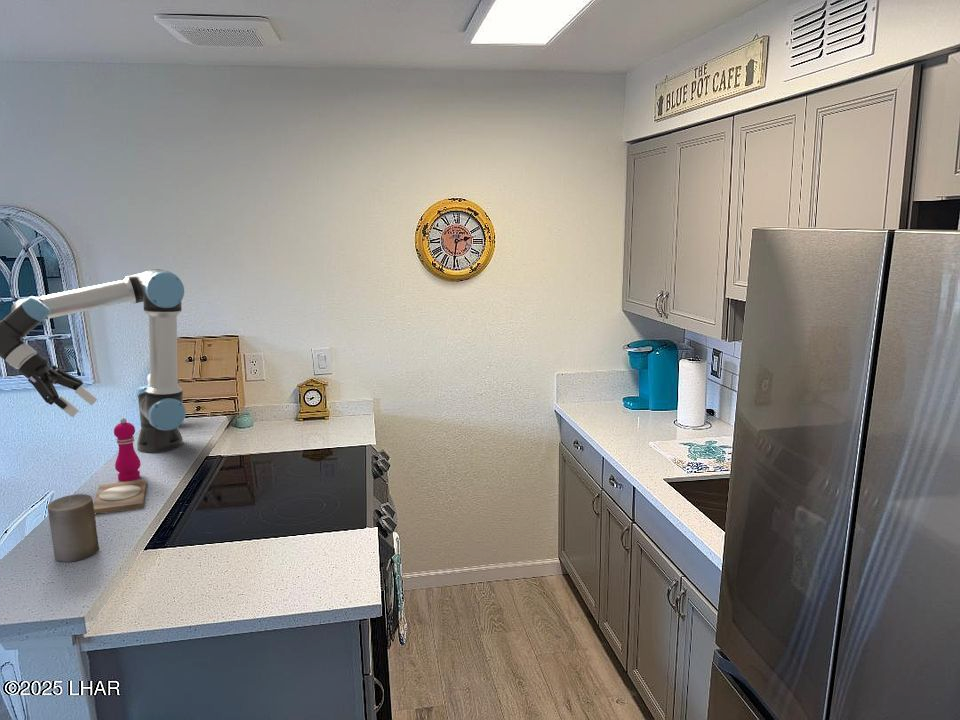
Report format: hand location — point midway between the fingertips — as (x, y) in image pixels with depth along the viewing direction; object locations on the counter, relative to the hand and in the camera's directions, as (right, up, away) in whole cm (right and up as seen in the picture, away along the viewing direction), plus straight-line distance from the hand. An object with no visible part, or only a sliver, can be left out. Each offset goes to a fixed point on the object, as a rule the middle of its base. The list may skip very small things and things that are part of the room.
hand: (85, 407), depth 213 cm
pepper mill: (+10, -23, +6) cm, 26 cm away
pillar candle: (+23, -33, -43) cm, 59 cm away
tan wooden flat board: (+16, -26, -10) cm, 32 cm away
